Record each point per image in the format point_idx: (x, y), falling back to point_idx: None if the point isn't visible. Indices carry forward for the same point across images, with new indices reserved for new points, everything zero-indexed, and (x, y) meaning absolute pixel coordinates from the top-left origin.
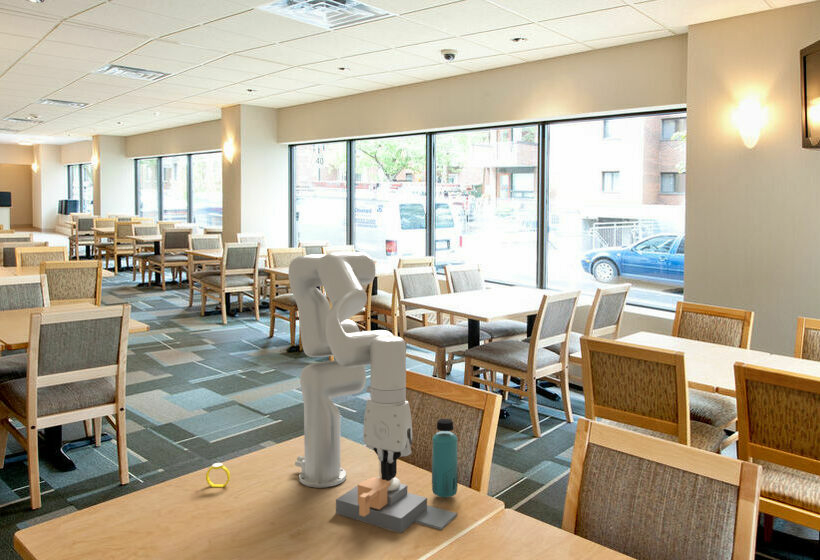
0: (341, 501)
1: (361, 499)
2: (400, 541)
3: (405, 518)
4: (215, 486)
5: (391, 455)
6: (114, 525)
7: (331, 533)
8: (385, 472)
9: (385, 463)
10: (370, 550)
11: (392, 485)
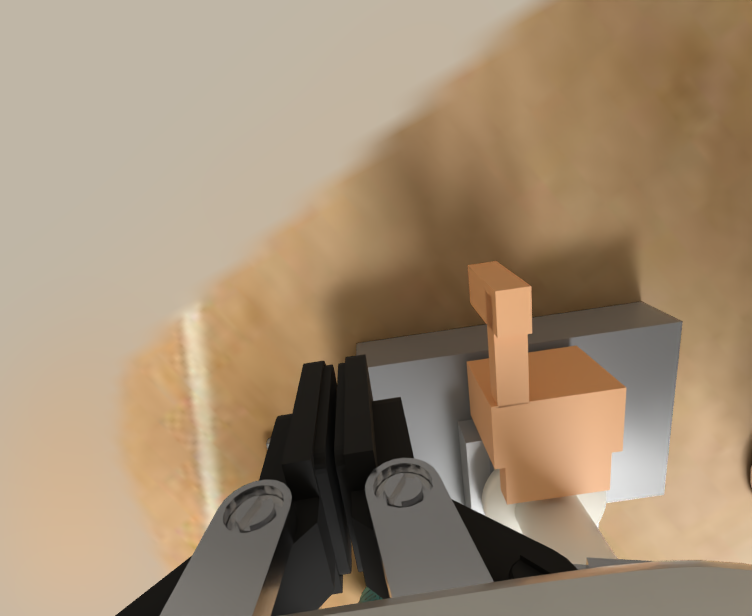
0: (651, 324)
1: (510, 283)
2: (321, 302)
3: None
4: None
5: (202, 581)
6: None
7: (566, 179)
8: (327, 395)
9: (324, 457)
10: (362, 184)
11: (500, 497)
